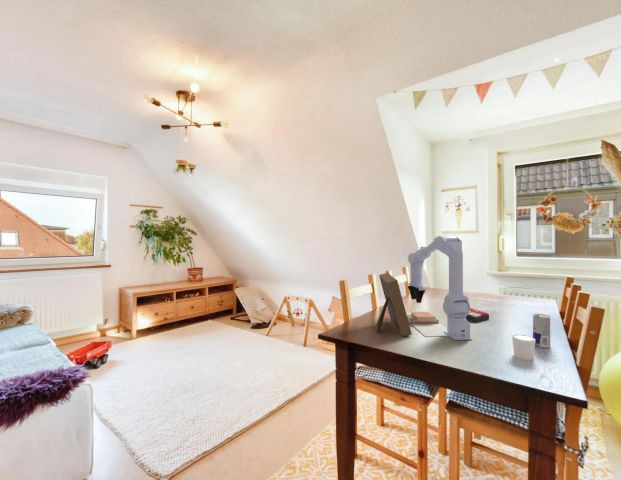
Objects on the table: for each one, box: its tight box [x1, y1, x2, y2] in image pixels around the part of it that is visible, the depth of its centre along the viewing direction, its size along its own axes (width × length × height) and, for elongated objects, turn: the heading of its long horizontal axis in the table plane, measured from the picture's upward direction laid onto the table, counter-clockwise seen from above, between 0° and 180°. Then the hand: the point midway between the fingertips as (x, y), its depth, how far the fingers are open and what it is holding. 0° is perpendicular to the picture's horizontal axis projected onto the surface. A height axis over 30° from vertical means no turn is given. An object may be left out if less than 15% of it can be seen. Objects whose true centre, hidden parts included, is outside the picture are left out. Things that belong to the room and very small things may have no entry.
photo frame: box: [375, 272, 413, 338], centre depth 137 cm, size 15×22×25 cm
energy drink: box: [532, 313, 551, 349], centre depth 114 cm, size 5×5×12 cm
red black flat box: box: [466, 307, 490, 324], centre depth 153 cm, size 11×4×15 cm
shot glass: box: [511, 334, 536, 361], centre depth 105 cm, size 7×7×7 cm
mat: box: [411, 323, 449, 338], centre depth 134 cm, size 16×14×1 cm
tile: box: [410, 311, 436, 321], centre depth 146 cm, size 8×9×2 cm
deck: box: [406, 311, 440, 325], centre depth 150 cm, size 15×13×2 cm
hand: (416, 300), depth 155 cm, fingers open, 7 cm apart
